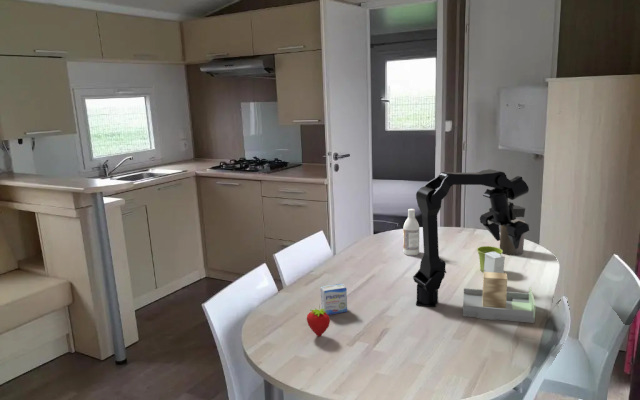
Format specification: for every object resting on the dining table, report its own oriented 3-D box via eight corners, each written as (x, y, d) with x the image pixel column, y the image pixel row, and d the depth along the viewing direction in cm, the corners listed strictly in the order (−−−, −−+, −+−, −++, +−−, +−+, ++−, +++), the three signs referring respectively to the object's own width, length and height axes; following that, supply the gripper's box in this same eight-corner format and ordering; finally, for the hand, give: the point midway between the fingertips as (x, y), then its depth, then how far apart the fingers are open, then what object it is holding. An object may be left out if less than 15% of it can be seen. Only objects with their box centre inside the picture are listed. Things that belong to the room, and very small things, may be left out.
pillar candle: (500, 254, 206) (502, 221, 202) (498, 247, 215) (500, 215, 211) (524, 256, 203) (527, 222, 199) (522, 248, 212) (524, 216, 208)
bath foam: (404, 250, 216) (404, 207, 212) (420, 251, 214) (420, 207, 210) (401, 255, 210) (401, 211, 206) (417, 256, 208) (418, 211, 203)
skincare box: (482, 283, 177) (483, 252, 174) (492, 282, 178) (494, 251, 175) (492, 290, 171) (494, 258, 168) (503, 288, 172) (505, 256, 169)
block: (482, 306, 154) (483, 277, 152) (482, 300, 159) (483, 271, 157) (505, 308, 152) (507, 279, 150) (504, 302, 157) (506, 273, 155)
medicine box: (324, 315, 157) (323, 291, 155) (321, 310, 161) (320, 286, 159) (347, 312, 159) (346, 287, 157) (343, 306, 163) (342, 282, 161)
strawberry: (314, 328, 149) (313, 298, 146) (334, 335, 144) (333, 304, 142) (303, 336, 144) (301, 306, 142) (323, 343, 140) (321, 312, 137)
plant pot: (498, 266, 193) (498, 245, 191) (504, 275, 184) (505, 253, 182) (474, 266, 194) (474, 246, 192) (479, 275, 184) (480, 254, 183)
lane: (462, 316, 152) (463, 299, 151) (463, 298, 165) (464, 282, 164) (534, 323, 146) (535, 305, 145) (529, 304, 159) (530, 287, 158)
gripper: (538, 201, 158) (545, 243, 163) (500, 190, 175) (507, 228, 180) (511, 214, 155) (519, 256, 160) (475, 202, 172) (483, 240, 177)
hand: (507, 244), depth 169 cm, fingers open, 9 cm apart
